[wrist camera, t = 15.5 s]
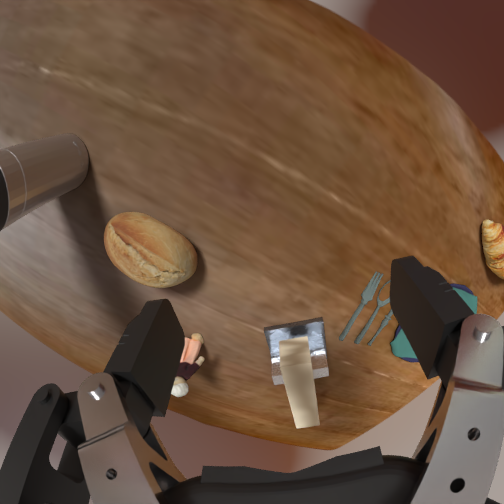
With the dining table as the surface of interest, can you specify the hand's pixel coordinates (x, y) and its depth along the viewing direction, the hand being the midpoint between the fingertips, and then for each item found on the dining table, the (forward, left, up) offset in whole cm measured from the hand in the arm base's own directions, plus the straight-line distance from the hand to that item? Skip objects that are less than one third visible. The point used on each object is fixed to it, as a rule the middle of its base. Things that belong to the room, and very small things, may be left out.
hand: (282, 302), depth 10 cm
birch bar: (-2, -31, -21) cm, 38 cm away
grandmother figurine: (-21, -27, -29) cm, 45 cm away
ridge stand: (-2, -31, -29) cm, 42 cm away
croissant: (+43, -21, -29) cm, 56 cm away
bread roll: (-19, -6, -29) cm, 35 cm away
